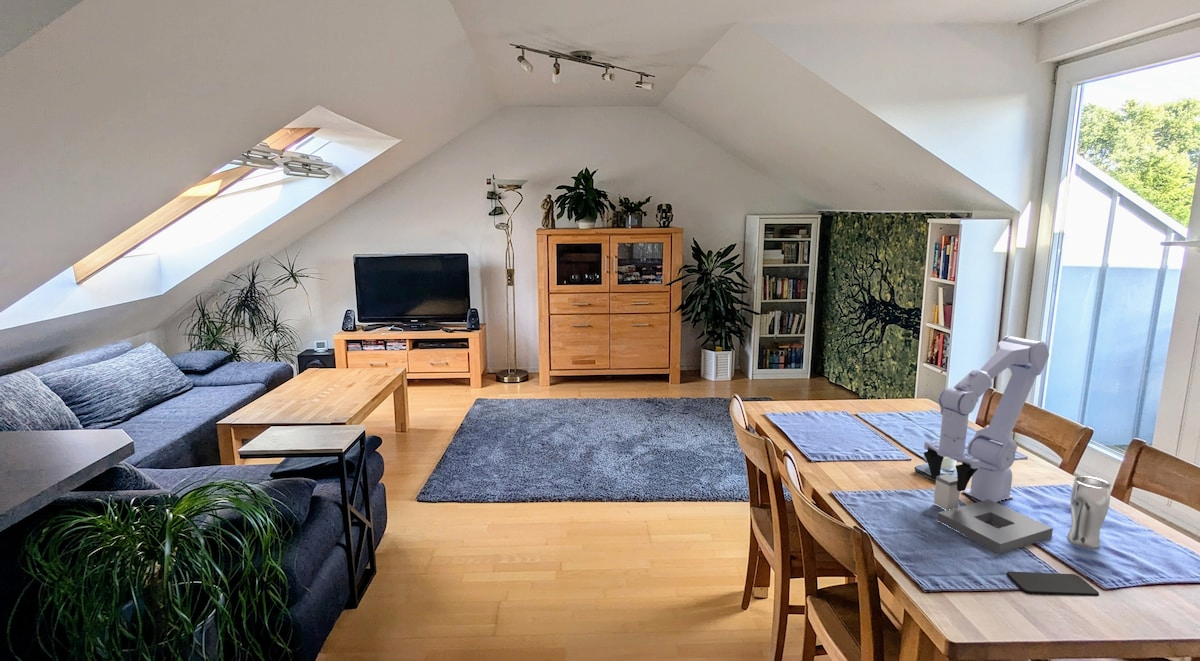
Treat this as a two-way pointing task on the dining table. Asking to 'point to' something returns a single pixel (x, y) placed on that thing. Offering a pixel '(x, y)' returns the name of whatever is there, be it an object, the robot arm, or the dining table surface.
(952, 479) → the plug
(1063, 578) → the smartphone
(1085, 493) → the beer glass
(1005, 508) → the socket
